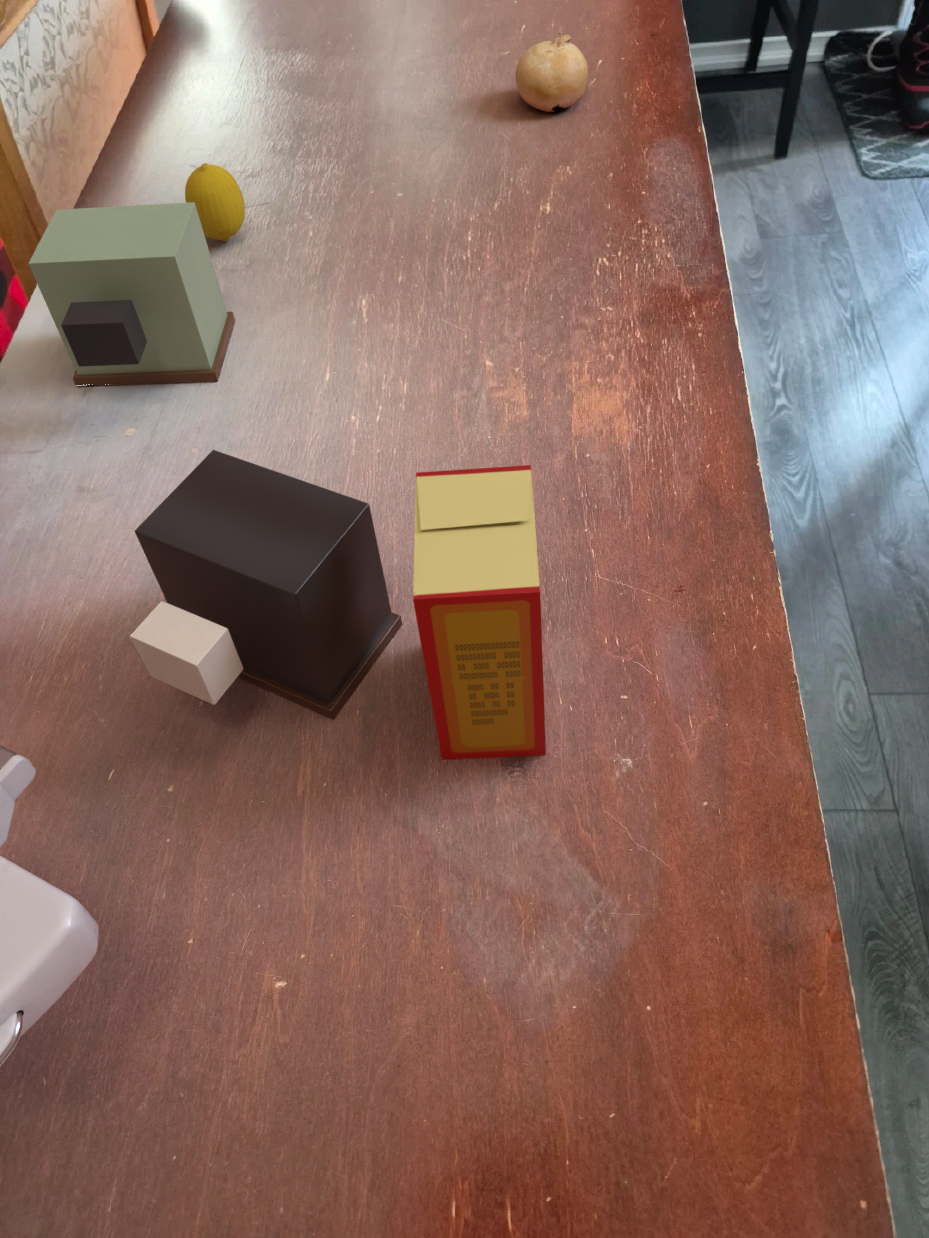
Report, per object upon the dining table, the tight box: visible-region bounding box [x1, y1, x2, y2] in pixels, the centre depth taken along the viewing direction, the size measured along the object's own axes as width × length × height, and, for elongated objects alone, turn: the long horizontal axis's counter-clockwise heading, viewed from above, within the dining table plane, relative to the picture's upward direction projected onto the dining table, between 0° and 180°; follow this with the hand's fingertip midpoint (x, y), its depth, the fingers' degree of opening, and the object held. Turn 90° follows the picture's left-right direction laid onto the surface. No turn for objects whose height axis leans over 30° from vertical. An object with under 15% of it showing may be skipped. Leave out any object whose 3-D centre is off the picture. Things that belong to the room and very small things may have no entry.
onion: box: [515, 27, 589, 113], centre depth 117 cm, size 8×8×7 cm
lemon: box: [184, 162, 246, 243], centre depth 104 cm, size 6×6×8 cm
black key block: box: [134, 449, 403, 720], centre depth 69 cm, size 9×13×12 cm
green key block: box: [27, 202, 236, 386], centre depth 92 cm, size 9×13×12 cm
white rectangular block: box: [129, 600, 244, 706], centre depth 64 cm, size 3×5×4 cm, turn 61°
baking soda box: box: [412, 464, 547, 761], centre depth 64 cm, size 10×6×16 cm
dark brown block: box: [61, 300, 147, 367], centre depth 85 cm, size 3×5×4 cm, turn 88°
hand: (10, 753), depth 53 cm, fingers closed
